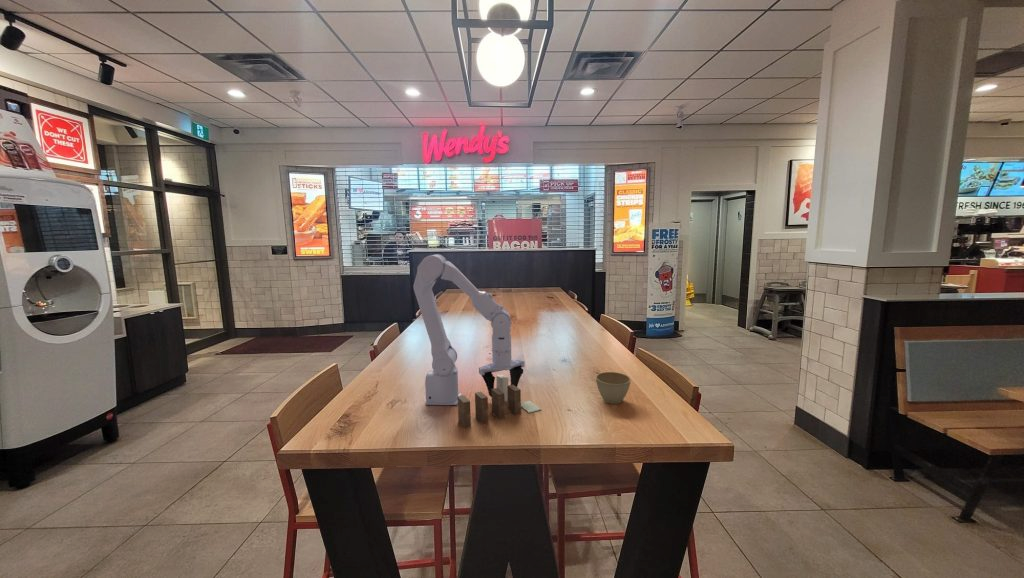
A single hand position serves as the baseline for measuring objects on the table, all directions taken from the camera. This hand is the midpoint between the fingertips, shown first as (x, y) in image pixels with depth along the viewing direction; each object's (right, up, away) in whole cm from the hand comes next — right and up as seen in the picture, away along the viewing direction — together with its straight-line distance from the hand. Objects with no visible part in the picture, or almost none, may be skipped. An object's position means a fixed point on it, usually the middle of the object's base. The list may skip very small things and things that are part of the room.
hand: (502, 393), depth 118 cm
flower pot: (+33, -2, -2) cm, 33 cm away
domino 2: (-5, -4, -13) cm, 15 cm away
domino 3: (0, -2, 0) cm, 2 cm away
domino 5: (+3, -3, -8) cm, 10 cm away
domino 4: (-1, -3, -11) cm, 11 cm away
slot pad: (+8, -2, -6) cm, 10 cm away
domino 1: (-10, -4, -15) cm, 19 cm away
